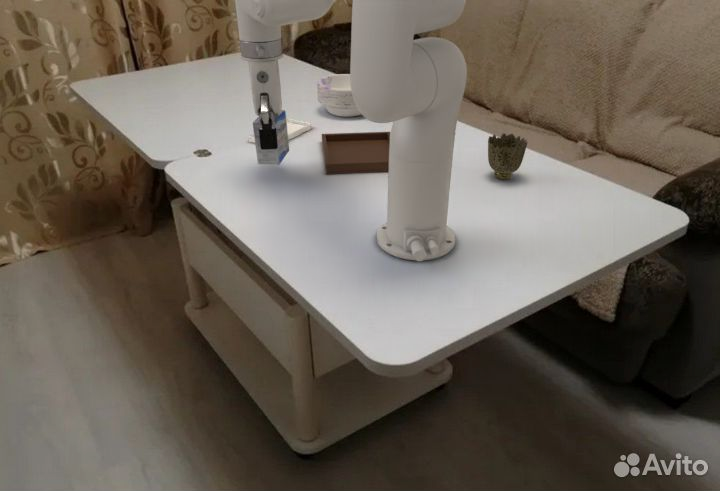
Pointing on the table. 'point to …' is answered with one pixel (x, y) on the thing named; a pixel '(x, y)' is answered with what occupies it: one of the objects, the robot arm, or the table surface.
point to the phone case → (291, 129)
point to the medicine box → (282, 138)
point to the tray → (356, 152)
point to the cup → (505, 155)
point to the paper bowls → (337, 95)
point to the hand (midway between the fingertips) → (269, 140)
